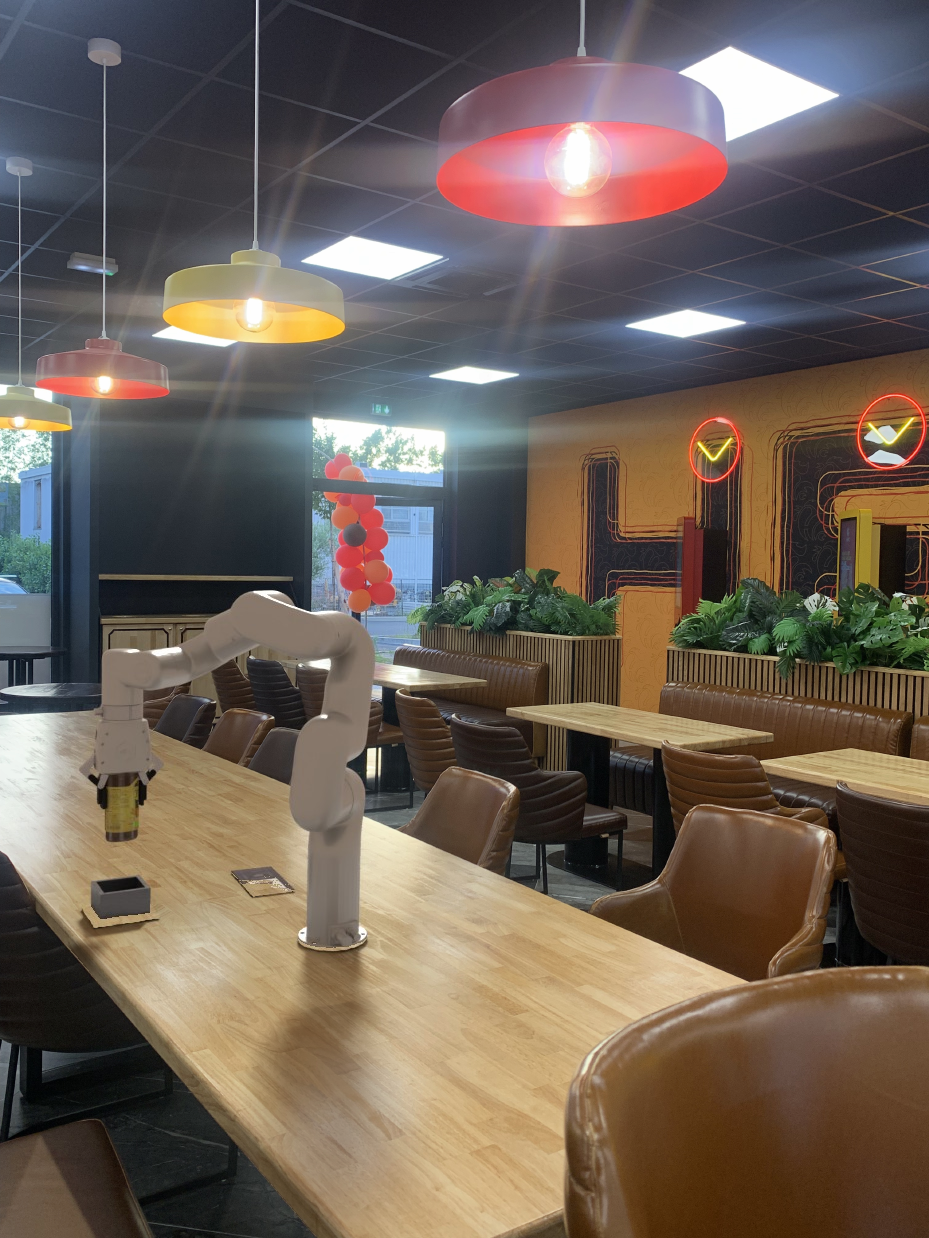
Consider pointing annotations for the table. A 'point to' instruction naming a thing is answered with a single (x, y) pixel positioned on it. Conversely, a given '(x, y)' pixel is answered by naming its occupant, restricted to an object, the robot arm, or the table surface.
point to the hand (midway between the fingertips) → (122, 805)
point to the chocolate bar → (262, 877)
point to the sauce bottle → (122, 807)
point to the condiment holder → (120, 897)
